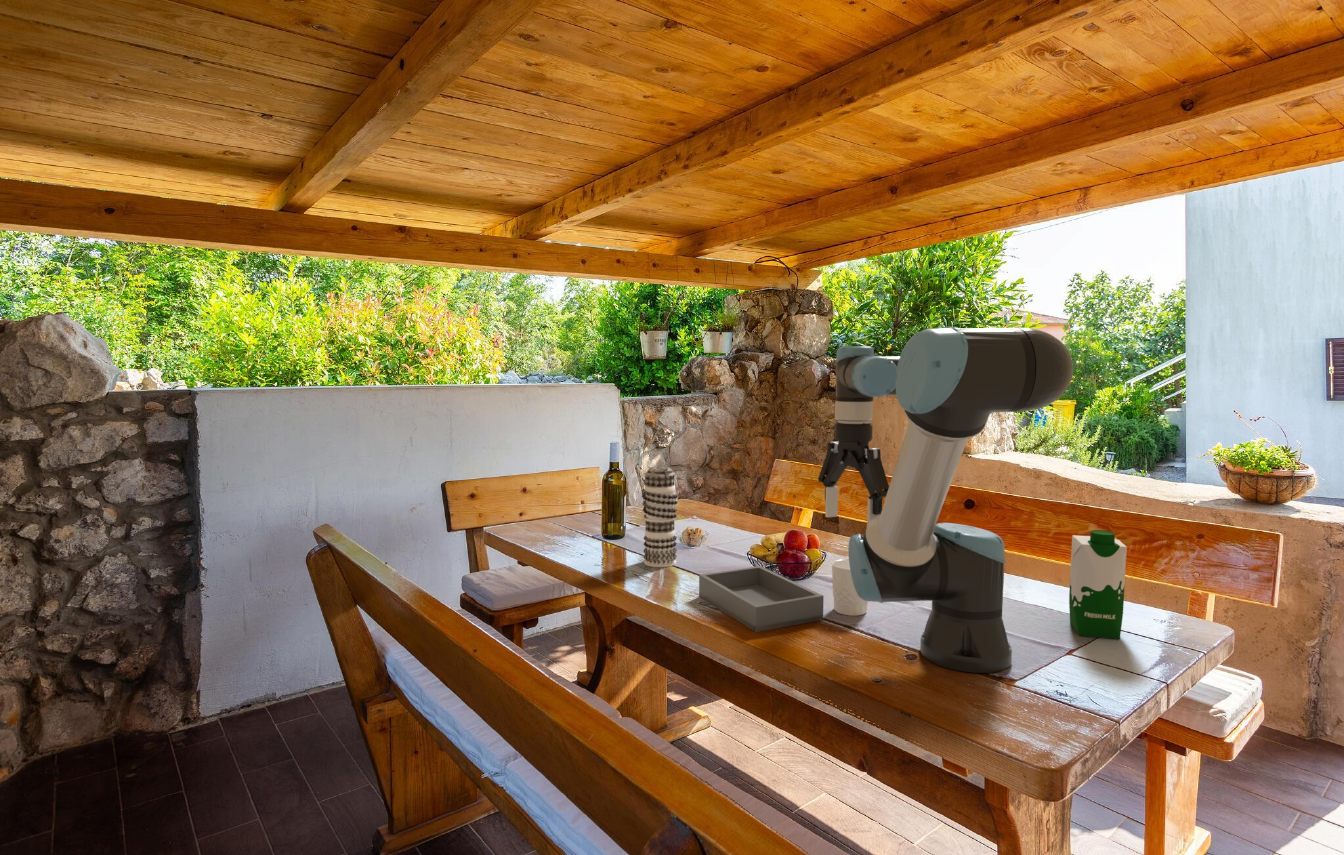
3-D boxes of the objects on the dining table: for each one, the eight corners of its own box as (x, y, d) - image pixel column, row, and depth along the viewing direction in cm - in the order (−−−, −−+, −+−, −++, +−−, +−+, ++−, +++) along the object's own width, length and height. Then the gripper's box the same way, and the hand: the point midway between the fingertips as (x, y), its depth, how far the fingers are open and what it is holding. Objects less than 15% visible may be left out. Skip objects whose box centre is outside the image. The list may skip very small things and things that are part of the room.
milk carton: (1075, 637, 140) (1080, 533, 138) (1063, 620, 149) (1068, 523, 147) (1127, 641, 138) (1132, 536, 136) (1112, 625, 146) (1117, 526, 145)
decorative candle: (636, 560, 194) (635, 466, 192) (667, 556, 199) (667, 464, 196) (652, 569, 186) (651, 471, 184) (684, 564, 191) (683, 468, 188)
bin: (823, 619, 150) (823, 595, 150) (755, 632, 143) (756, 607, 143) (760, 586, 172) (760, 565, 171) (699, 596, 165) (699, 574, 164)
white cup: (866, 604, 159) (867, 559, 158) (872, 617, 151) (873, 569, 150) (829, 603, 160) (829, 558, 159) (833, 616, 152) (834, 569, 151)
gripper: (911, 426, 142) (908, 534, 144) (831, 416, 165) (829, 509, 167) (880, 427, 139) (878, 538, 141) (803, 417, 161) (801, 513, 164)
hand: (851, 523), depth 154 cm, fingers open, 13 cm apart
